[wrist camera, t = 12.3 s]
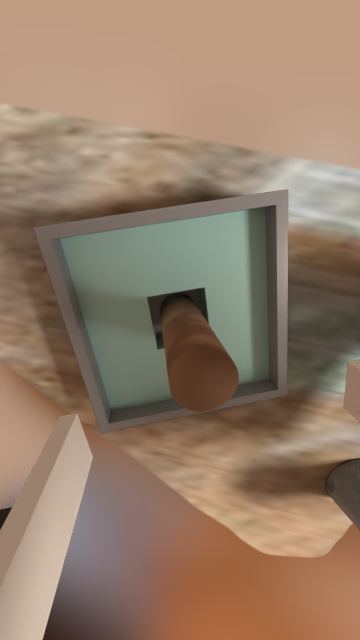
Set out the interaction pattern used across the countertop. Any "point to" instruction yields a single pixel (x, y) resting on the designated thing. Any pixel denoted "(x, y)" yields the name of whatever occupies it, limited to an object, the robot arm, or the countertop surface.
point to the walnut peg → (195, 357)
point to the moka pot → (346, 489)
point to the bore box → (166, 279)
